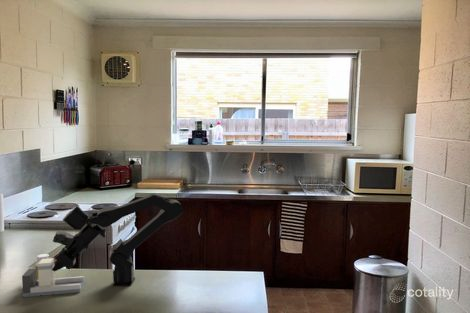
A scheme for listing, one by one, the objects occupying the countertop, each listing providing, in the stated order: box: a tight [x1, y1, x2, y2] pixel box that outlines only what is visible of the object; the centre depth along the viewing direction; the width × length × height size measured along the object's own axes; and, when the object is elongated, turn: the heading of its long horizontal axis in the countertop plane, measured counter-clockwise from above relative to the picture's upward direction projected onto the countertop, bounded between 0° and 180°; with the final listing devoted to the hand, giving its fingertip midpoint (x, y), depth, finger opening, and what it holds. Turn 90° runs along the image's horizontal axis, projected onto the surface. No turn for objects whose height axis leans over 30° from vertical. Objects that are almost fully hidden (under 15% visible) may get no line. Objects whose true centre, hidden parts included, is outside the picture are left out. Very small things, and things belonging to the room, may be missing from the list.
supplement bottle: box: [34, 253, 50, 280], centre depth 144 cm, size 5×5×10 cm
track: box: [21, 267, 85, 298], centre depth 136 cm, size 18×8×7 cm, turn 101°
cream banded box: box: [38, 257, 56, 287], centre depth 135 cm, size 4×5×9 cm
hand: (53, 270), depth 136 cm, fingers closed, pressing on cream banded box
